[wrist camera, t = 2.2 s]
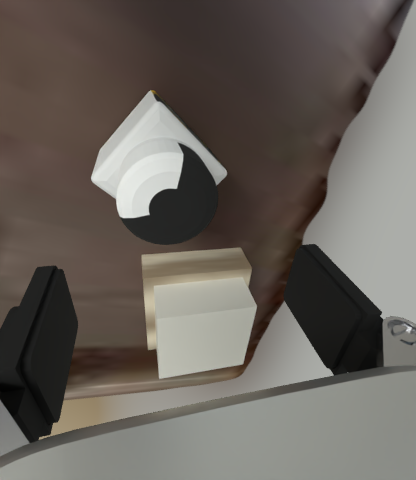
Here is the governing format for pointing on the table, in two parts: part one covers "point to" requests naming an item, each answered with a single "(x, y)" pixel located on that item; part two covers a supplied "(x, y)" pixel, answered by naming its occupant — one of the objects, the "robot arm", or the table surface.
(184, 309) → the tower top block
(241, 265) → the tower base block
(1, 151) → the table surface
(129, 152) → the medicine bottle
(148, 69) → the table surface
